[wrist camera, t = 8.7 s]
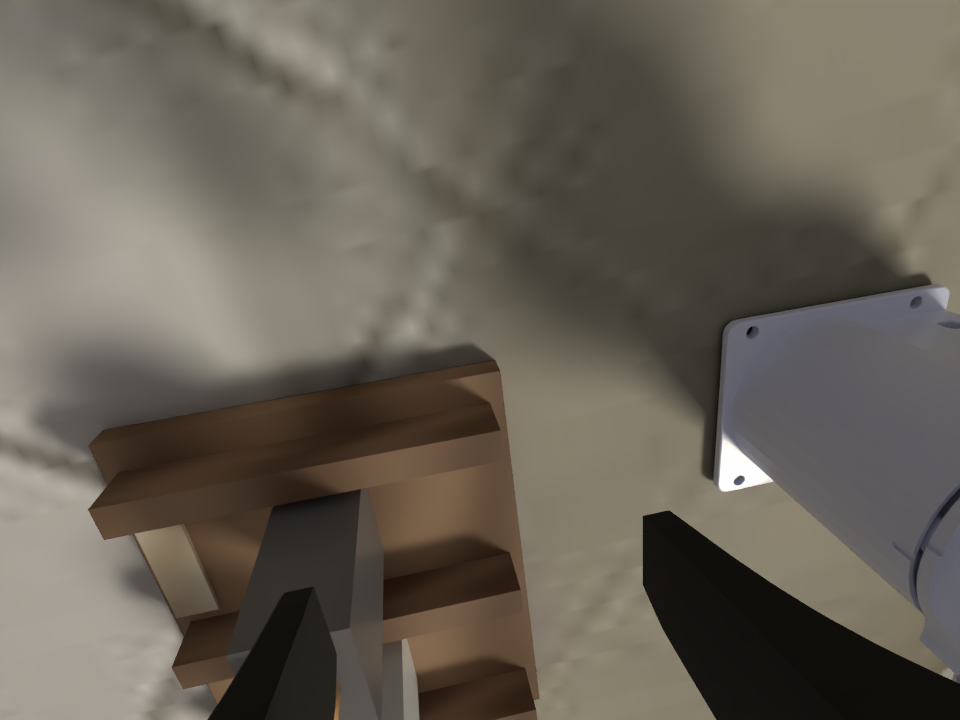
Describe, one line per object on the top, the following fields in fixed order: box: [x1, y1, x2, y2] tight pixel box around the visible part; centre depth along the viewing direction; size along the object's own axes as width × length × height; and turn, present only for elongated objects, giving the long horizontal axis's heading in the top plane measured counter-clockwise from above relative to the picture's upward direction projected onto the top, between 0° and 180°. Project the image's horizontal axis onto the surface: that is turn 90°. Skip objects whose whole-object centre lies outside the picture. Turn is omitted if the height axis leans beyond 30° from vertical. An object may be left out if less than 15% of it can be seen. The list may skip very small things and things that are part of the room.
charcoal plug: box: [226, 488, 384, 720], centre depth 16 cm, size 3×4×8 cm
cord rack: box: [88, 360, 539, 720], centre depth 21 cm, size 14×18×3 cm
